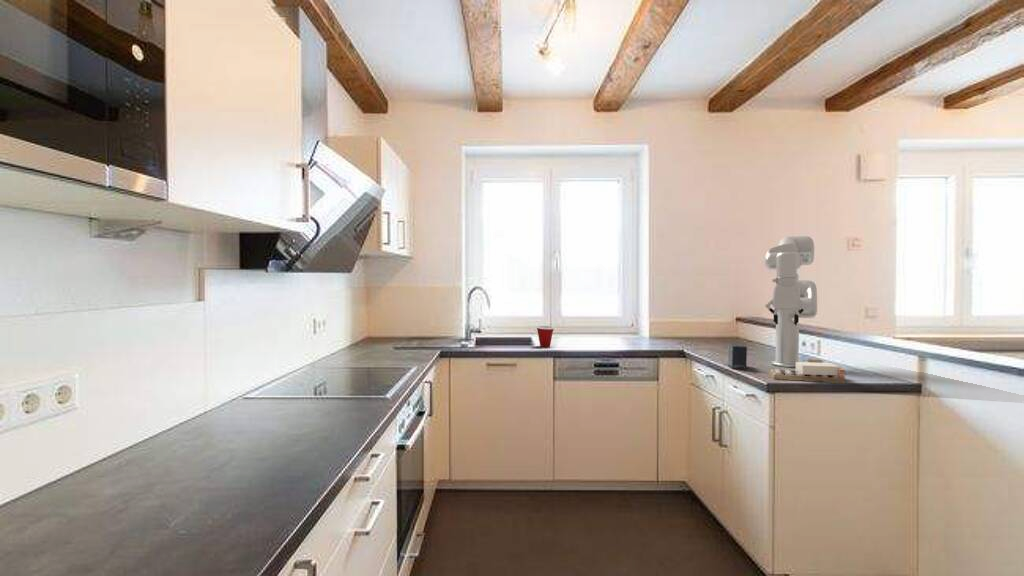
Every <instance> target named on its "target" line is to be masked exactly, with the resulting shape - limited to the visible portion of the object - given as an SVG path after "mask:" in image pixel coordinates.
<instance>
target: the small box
mask: <svg viewBox="0 0 1024 576" xmlns="http://www.w3.org/2000/svg"><path fill="white" fill-rule="evenodd" d="M747 349H748V346H746V345H745V344H742V343H734V342H732V343H731V342H727V366H728V367H729V368H730V369H732V370H747V357H748V356H747V354H748V353H747V352H748V350H747Z"/></svg>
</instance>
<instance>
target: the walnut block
mask: <svg viewBox="0 0 1024 576" xmlns="http://www.w3.org/2000/svg"><path fill="white" fill-rule="evenodd" d="M806 359H807V360H806V362H816V363H824V360H822V359H814V358H813V359H808V358H806Z"/></svg>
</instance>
